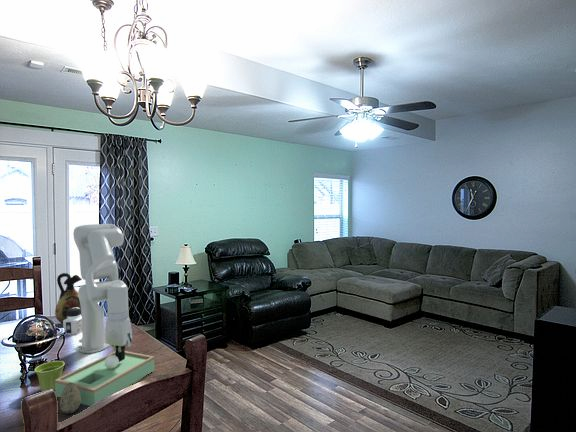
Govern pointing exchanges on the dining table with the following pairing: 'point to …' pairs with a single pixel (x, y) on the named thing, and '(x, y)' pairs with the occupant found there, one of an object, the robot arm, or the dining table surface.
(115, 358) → the ball
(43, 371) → the plant pot
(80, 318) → the container
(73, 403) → the decorative egg
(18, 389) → the dining table surface
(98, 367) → the putting tray
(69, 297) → the ceramic jug
